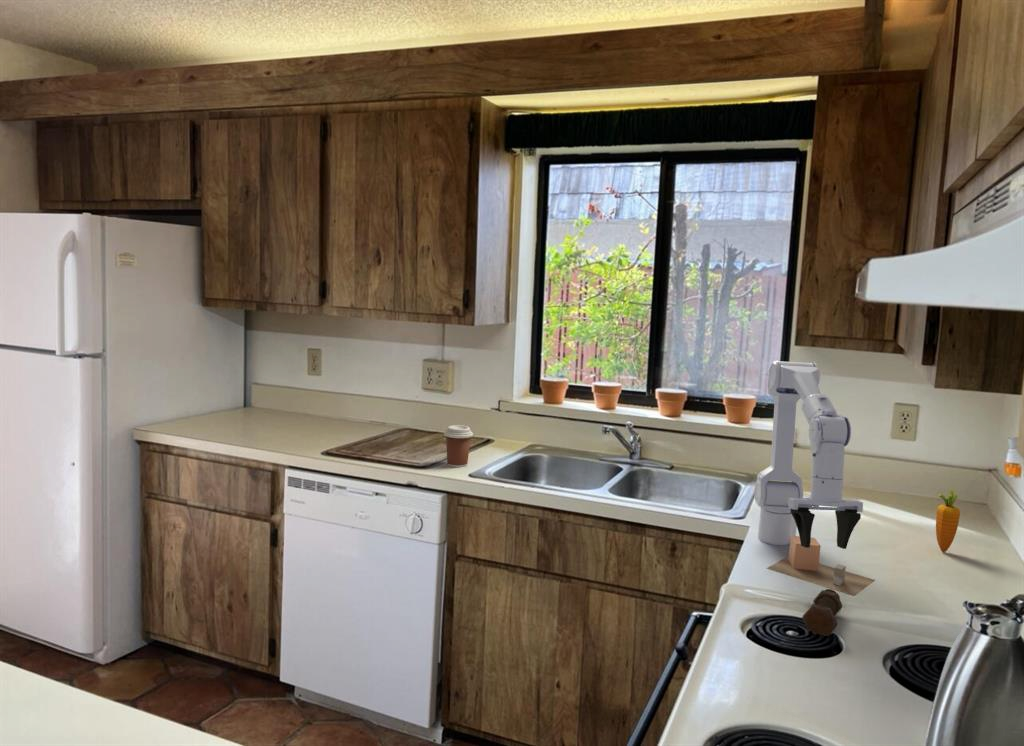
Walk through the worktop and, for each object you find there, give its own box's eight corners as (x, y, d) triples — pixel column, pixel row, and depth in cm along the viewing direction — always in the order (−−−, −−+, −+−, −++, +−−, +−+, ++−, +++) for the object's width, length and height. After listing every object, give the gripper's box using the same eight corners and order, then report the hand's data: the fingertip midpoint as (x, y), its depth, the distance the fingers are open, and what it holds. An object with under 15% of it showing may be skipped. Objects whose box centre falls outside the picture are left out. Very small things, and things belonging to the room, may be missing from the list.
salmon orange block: (788, 559, 167) (790, 534, 166) (812, 562, 166) (814, 537, 166) (793, 568, 162) (795, 542, 161) (817, 570, 161) (820, 544, 161)
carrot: (948, 557, 178) (956, 495, 176) (927, 550, 182) (934, 489, 180) (959, 554, 181) (967, 492, 179) (938, 547, 185) (946, 487, 183)
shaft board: (789, 561, 170) (791, 539, 170) (874, 586, 158) (876, 563, 158) (765, 574, 162) (768, 552, 161) (853, 602, 149) (856, 578, 149)
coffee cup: (460, 460, 246) (462, 423, 245) (477, 466, 239) (479, 428, 237) (437, 463, 240) (438, 425, 239) (453, 469, 233) (454, 431, 232)
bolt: (833, 616, 148) (821, 644, 135) (810, 597, 150) (796, 623, 137) (852, 594, 146) (842, 621, 133) (829, 576, 148) (816, 600, 135)
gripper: (802, 478, 145) (799, 550, 144) (873, 481, 147) (870, 552, 146) (784, 474, 152) (781, 542, 151) (852, 477, 154) (849, 544, 153)
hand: (823, 547), depth 149 cm, fingers open, 7 cm apart
